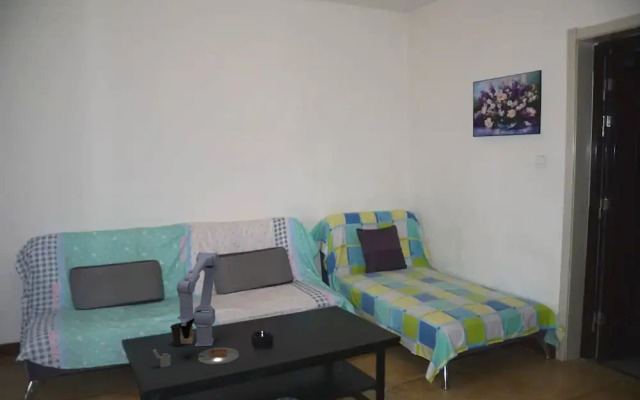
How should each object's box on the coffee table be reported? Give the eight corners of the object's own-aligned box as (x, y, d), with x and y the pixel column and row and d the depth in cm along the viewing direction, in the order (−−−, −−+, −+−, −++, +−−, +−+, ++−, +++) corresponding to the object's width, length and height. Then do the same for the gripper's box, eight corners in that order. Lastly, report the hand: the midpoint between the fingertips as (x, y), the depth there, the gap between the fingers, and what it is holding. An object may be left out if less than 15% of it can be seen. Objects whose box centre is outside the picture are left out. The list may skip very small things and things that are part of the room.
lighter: (170, 364, 222) (169, 346, 222) (170, 365, 221) (170, 347, 220) (153, 367, 219) (152, 349, 218) (153, 368, 217) (153, 350, 217)
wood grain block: (181, 341, 231) (181, 326, 231) (193, 341, 231) (192, 326, 231) (180, 343, 228) (180, 328, 228) (191, 343, 228) (191, 328, 228)
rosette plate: (201, 350, 239) (201, 345, 239) (240, 348, 240) (240, 343, 240) (194, 365, 221) (194, 359, 221) (236, 363, 222) (236, 358, 222)
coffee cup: (183, 347, 242) (182, 327, 241) (167, 346, 244) (166, 326, 243) (190, 342, 250) (190, 322, 249) (175, 341, 252) (175, 321, 251)
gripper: (180, 302, 236) (181, 331, 237) (173, 311, 221) (174, 342, 222) (196, 302, 236) (196, 331, 237) (190, 311, 222) (191, 342, 223)
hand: (187, 336), depth 230 cm, fingers closed on wood grain block, 3 cm apart
